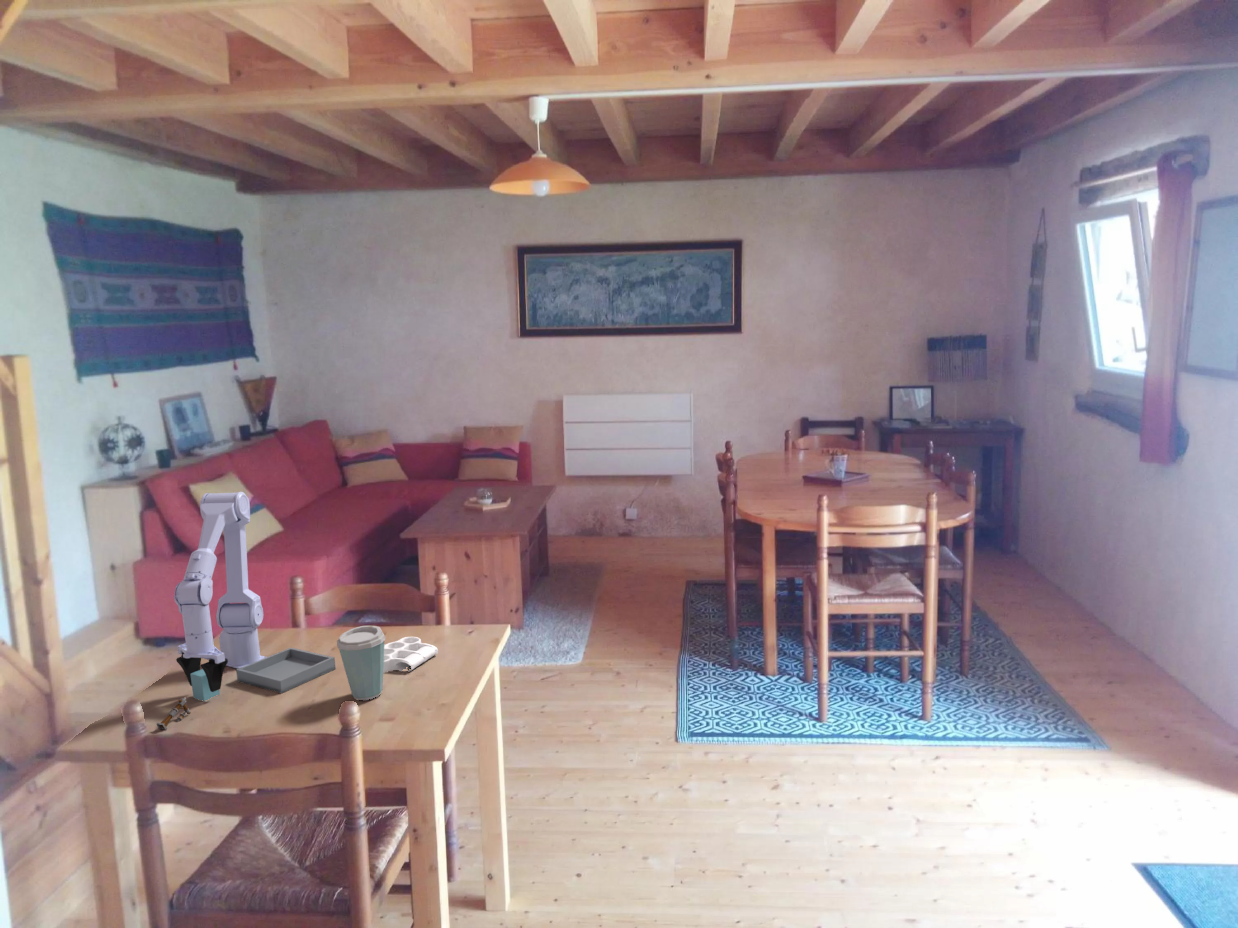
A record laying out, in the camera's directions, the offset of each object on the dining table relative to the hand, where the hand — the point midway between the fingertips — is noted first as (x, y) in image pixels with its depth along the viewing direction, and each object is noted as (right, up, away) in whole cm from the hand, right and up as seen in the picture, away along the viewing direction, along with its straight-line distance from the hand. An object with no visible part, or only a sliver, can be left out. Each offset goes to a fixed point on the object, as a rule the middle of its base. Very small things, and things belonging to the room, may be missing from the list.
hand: (205, 687), depth 213 cm
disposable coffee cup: (+38, -1, -3) cm, 38 cm away
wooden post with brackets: (-1, -5, -13) cm, 14 cm away
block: (0, -2, 0) cm, 2 cm away
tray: (+15, 0, +11) cm, 19 cm away
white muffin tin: (+41, +2, +17) cm, 45 cm away
